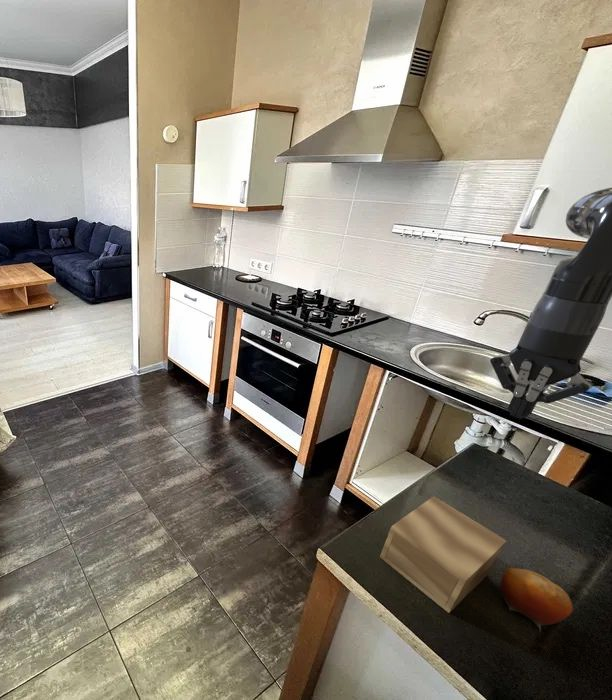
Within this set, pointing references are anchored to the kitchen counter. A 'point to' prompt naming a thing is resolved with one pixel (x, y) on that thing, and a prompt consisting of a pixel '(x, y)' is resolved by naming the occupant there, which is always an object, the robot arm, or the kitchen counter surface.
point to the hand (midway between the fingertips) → (516, 415)
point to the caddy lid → (449, 538)
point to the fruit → (535, 596)
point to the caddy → (430, 572)
